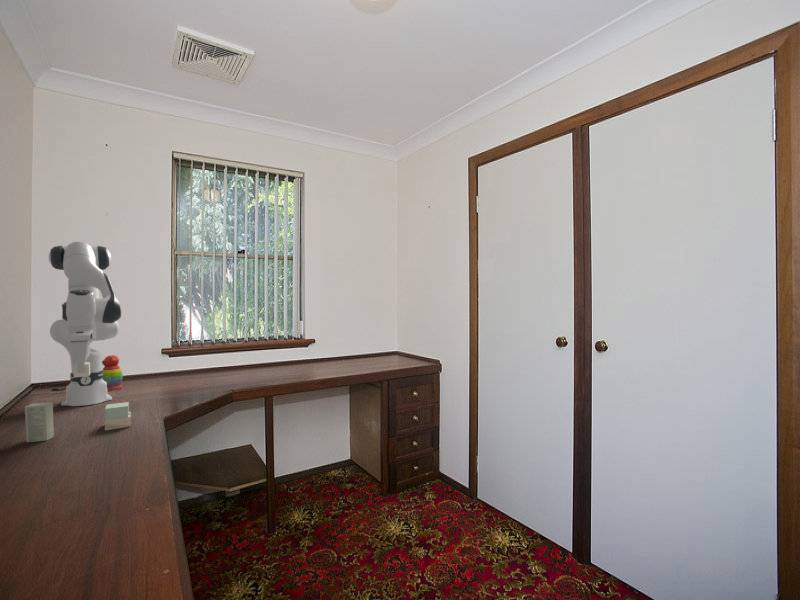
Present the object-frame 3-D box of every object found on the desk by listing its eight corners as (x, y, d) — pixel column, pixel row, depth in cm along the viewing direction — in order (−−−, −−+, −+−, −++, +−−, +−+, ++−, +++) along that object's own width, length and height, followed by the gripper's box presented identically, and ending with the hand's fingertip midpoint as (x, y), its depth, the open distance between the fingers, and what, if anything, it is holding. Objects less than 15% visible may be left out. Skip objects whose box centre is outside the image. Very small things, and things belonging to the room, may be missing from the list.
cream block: (75, 375, 155) (74, 363, 155) (90, 374, 157) (89, 362, 157) (73, 377, 151) (73, 365, 151) (89, 376, 154) (88, 364, 153)
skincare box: (54, 436, 144) (54, 401, 144) (46, 441, 140) (46, 405, 140) (33, 438, 143) (32, 403, 143) (24, 442, 139) (24, 406, 139)
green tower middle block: (106, 415, 157) (106, 404, 157) (128, 412, 161) (128, 402, 161) (105, 419, 151) (105, 408, 151) (128, 416, 155) (128, 406, 155)
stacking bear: (103, 387, 223) (103, 354, 222) (125, 386, 226) (125, 353, 225) (96, 392, 212) (95, 357, 212) (119, 390, 215) (118, 356, 215)
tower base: (105, 425, 158) (105, 415, 158) (130, 421, 162) (130, 411, 162) (104, 431, 151) (104, 420, 151) (131, 427, 155) (130, 416, 155)
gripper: (74, 331, 161) (74, 367, 161) (67, 337, 144) (67, 377, 144) (94, 331, 164) (94, 366, 165) (89, 336, 147) (90, 375, 147)
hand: (81, 371), depth 154 cm, fingers closed on cream block, 4 cm apart
